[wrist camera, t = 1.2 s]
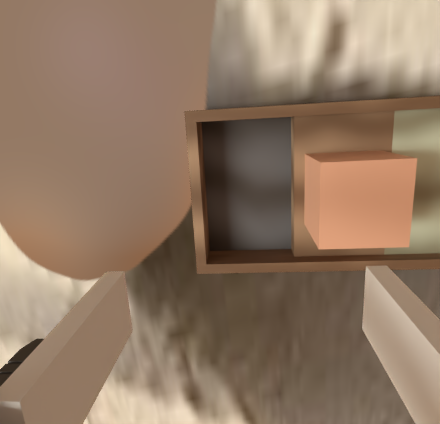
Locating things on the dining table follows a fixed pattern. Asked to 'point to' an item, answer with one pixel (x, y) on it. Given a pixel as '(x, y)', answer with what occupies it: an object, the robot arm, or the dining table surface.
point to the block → (359, 199)
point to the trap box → (302, 182)
